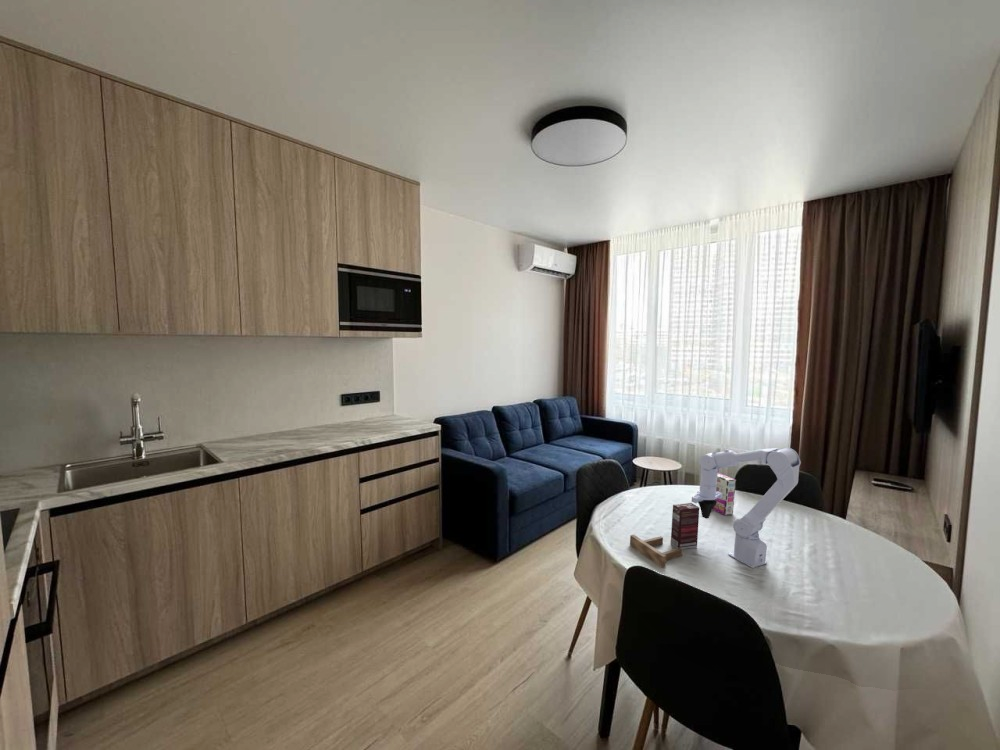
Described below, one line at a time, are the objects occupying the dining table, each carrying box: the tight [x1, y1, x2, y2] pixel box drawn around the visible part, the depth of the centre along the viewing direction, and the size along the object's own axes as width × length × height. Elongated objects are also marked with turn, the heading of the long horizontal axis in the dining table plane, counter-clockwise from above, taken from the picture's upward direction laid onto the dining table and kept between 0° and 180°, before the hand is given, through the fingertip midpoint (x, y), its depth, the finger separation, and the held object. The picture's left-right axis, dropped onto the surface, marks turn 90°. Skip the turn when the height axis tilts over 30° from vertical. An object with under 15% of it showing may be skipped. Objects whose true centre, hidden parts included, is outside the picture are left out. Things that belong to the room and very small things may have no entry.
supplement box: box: [670, 502, 700, 550], centre depth 156 cm, size 9×5×16 cm, turn 104°
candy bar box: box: [712, 472, 737, 516], centre depth 189 cm, size 11×5×16 cm, turn 17°
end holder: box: [629, 534, 683, 568], centre depth 151 cm, size 16×13×4 cm
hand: (705, 517), depth 160 cm, fingers closed
